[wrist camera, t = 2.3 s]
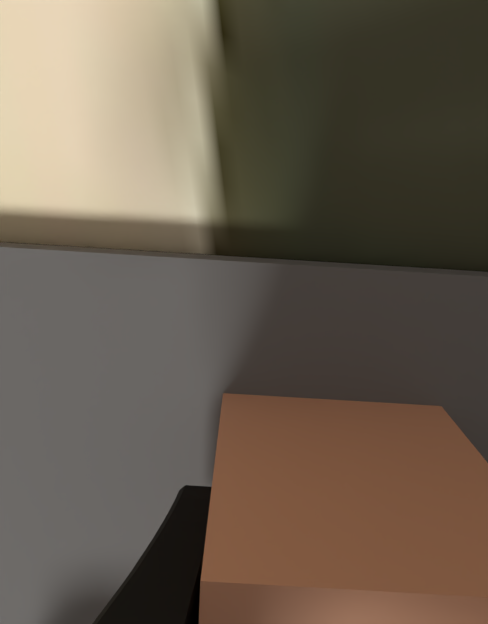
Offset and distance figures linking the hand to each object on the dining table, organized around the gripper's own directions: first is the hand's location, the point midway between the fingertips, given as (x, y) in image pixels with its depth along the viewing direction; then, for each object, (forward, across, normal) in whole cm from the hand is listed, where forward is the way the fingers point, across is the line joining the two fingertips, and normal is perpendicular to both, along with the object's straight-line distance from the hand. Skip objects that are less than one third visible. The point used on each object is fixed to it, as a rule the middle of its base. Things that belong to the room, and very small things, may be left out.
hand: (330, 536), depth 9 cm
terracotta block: (+1, 0, 0) cm, 1 cm away
